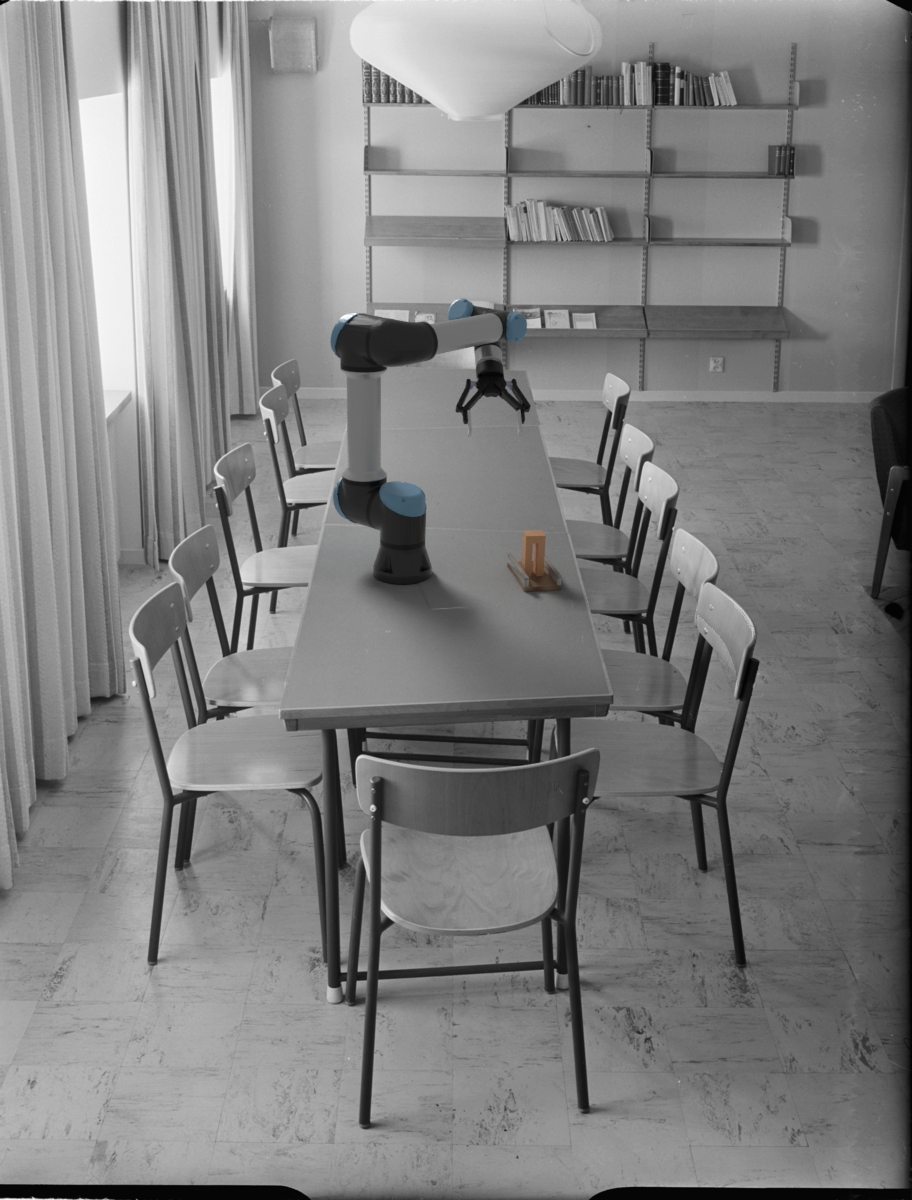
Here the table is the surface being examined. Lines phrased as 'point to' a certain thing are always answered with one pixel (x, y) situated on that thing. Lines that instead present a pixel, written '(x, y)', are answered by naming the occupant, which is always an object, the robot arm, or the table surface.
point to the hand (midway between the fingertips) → (495, 433)
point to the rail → (535, 583)
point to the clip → (539, 552)
